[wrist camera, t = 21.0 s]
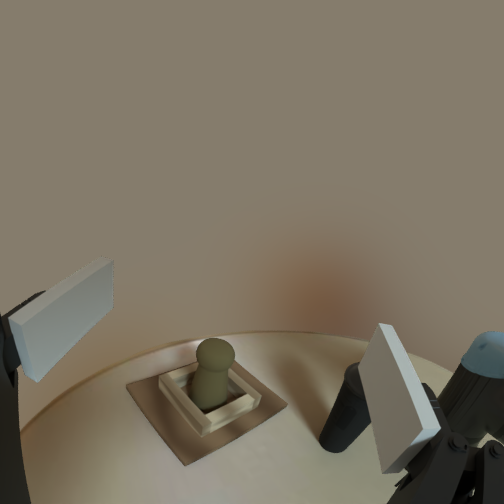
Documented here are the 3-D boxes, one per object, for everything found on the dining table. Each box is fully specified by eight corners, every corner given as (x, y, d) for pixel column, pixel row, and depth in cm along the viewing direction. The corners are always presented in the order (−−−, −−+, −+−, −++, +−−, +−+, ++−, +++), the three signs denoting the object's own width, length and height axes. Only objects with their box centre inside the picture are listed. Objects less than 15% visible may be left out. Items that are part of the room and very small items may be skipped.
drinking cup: (360, 459, 34) (430, 361, 27) (312, 460, 33) (376, 357, 27) (351, 424, 41) (406, 326, 34) (308, 422, 41) (357, 319, 34)
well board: (223, 354, 54) (226, 340, 52) (286, 406, 43) (292, 392, 42) (126, 388, 39) (125, 373, 38) (184, 466, 29) (186, 454, 28)
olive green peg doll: (183, 387, 42) (189, 333, 39) (219, 383, 45) (229, 330, 41) (195, 416, 37) (202, 362, 34) (233, 409, 40) (247, 357, 36)
